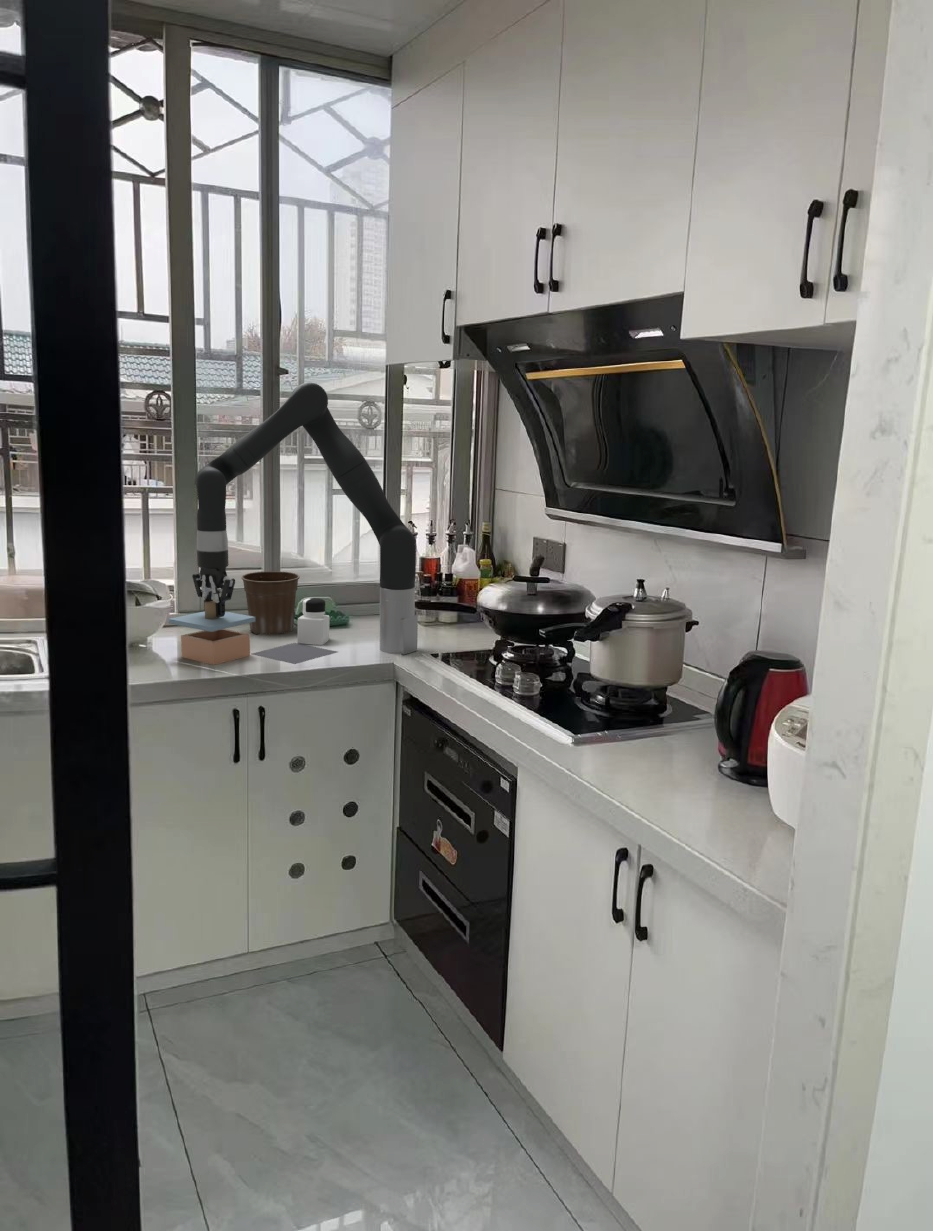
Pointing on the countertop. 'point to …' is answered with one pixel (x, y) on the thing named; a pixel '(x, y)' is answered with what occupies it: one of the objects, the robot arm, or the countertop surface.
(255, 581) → the plant pot
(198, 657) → the square orange box
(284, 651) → the mat
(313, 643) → the medicine bottle
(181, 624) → the lid
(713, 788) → the countertop surface
